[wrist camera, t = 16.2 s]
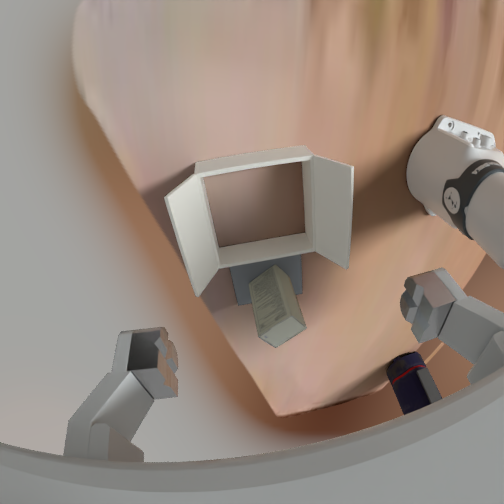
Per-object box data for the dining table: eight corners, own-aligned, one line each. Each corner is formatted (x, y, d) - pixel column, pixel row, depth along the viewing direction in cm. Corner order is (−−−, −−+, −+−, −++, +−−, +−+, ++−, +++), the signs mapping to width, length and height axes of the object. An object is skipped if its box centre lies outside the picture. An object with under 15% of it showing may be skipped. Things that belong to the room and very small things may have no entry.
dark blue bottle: (411, 367, 86) (445, 443, 62) (380, 376, 85) (412, 458, 61) (426, 341, 78) (468, 425, 54) (393, 351, 77) (433, 442, 53)
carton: (326, 142, 41) (354, 167, 33) (327, 231, 50) (349, 269, 42) (172, 167, 41) (163, 198, 33) (196, 254, 50) (195, 297, 42)
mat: (300, 248, 51) (300, 250, 51) (301, 291, 57) (302, 293, 57) (228, 261, 51) (228, 263, 51) (238, 303, 57) (238, 305, 57)
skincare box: (262, 295, 56) (274, 349, 46) (246, 282, 54) (256, 337, 44) (290, 276, 54) (308, 329, 44) (275, 261, 52) (291, 315, 42)
